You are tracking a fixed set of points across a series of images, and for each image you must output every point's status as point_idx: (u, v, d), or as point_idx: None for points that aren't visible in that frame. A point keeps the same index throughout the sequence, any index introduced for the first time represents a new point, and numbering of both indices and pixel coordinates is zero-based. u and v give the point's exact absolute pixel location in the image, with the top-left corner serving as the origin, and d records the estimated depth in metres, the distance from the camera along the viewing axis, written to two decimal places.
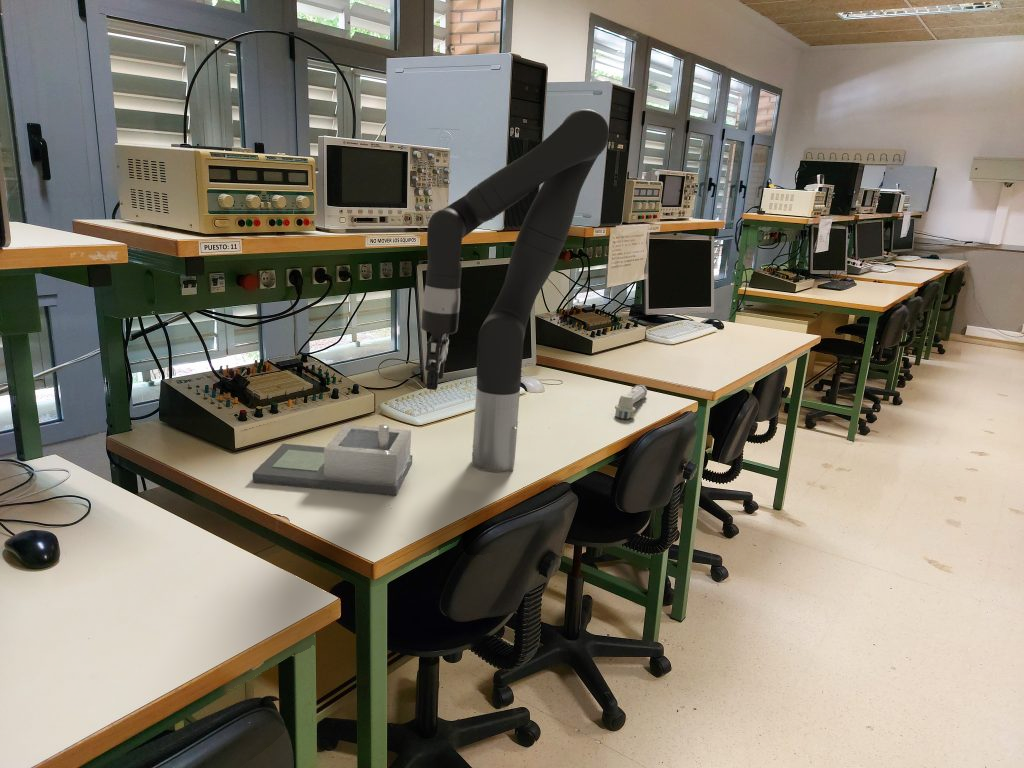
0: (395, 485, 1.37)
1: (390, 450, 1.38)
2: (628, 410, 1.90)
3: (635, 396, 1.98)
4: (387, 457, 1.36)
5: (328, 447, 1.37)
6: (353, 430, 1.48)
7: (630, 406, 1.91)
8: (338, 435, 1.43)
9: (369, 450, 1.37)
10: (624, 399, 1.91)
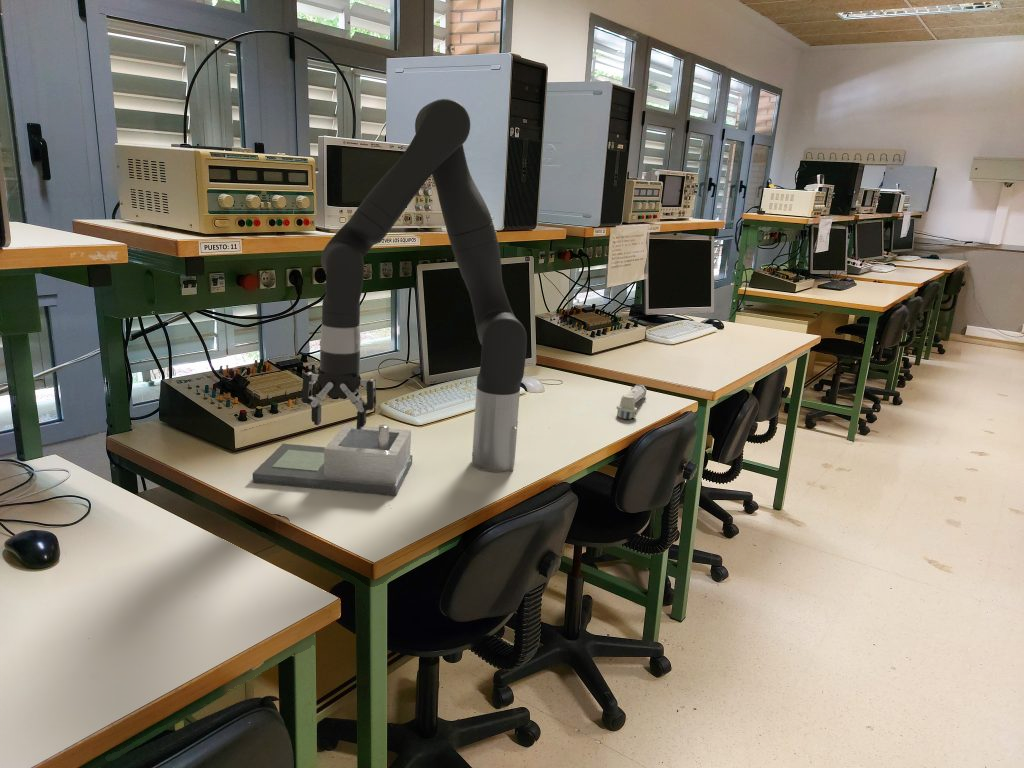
0: (395, 485, 1.37)
1: (390, 450, 1.38)
2: (630, 410, 1.90)
3: (636, 396, 1.98)
4: (387, 457, 1.36)
5: (328, 447, 1.37)
6: (353, 430, 1.48)
7: (632, 406, 1.91)
8: (338, 435, 1.43)
9: (369, 450, 1.37)
10: (626, 399, 1.91)
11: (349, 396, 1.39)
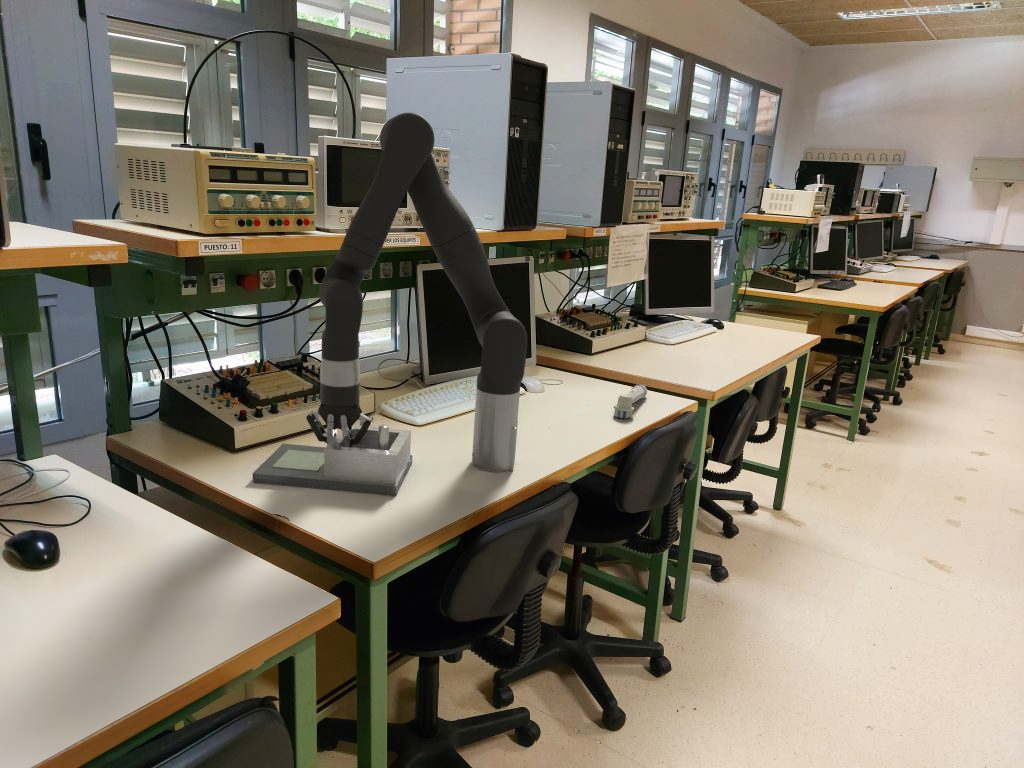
0: (395, 485, 1.37)
1: (390, 450, 1.38)
2: (627, 409, 1.90)
3: (634, 396, 1.98)
4: (387, 457, 1.36)
5: (328, 447, 1.37)
6: (353, 430, 1.48)
7: (629, 406, 1.91)
8: (338, 435, 1.43)
9: (369, 450, 1.37)
10: (623, 399, 1.91)
11: (343, 428, 1.41)
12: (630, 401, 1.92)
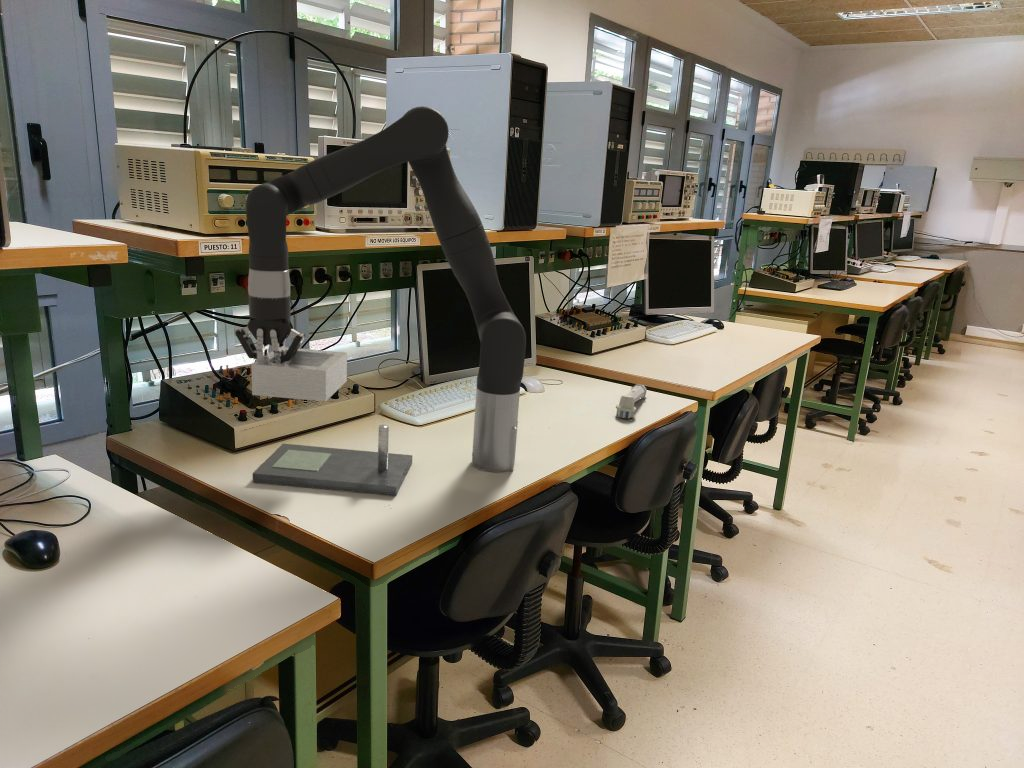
0: (395, 485, 1.37)
1: (320, 366, 1.34)
2: (630, 410, 1.90)
3: (635, 396, 1.98)
4: (315, 372, 1.32)
5: (256, 363, 1.33)
6: None
7: (631, 406, 1.91)
8: (270, 354, 1.39)
9: (298, 366, 1.33)
10: (625, 399, 1.91)
11: (273, 344, 1.37)
12: (632, 401, 1.92)
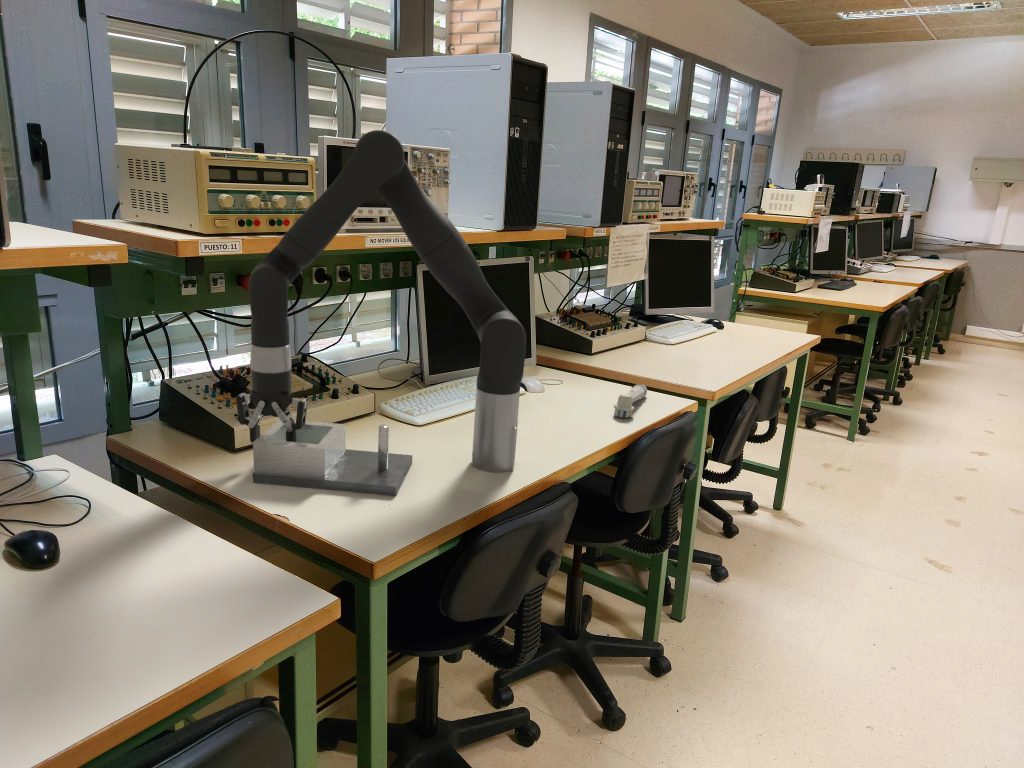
0: (395, 485, 1.37)
1: (319, 444, 1.38)
2: (627, 409, 1.91)
3: (634, 395, 1.99)
4: (315, 450, 1.36)
5: (257, 441, 1.38)
6: None
7: (629, 405, 1.92)
8: (271, 429, 1.44)
9: (298, 444, 1.38)
10: (623, 398, 1.91)
11: (279, 415, 1.41)
12: (630, 401, 1.92)
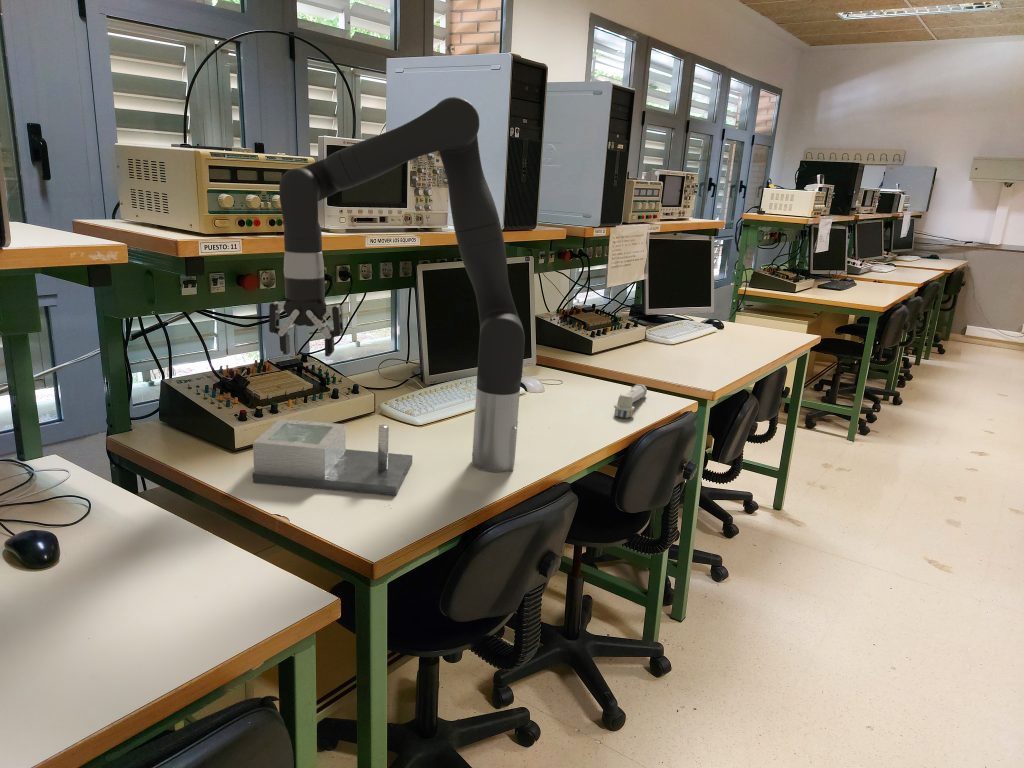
0: (395, 485, 1.37)
1: (319, 444, 1.38)
2: (627, 409, 1.91)
3: (634, 395, 1.99)
4: (315, 450, 1.36)
5: (257, 441, 1.38)
6: (287, 424, 1.48)
7: (629, 405, 1.92)
8: (271, 429, 1.44)
9: (298, 444, 1.38)
10: (623, 398, 1.91)
11: (316, 323, 1.41)
12: (630, 400, 1.92)
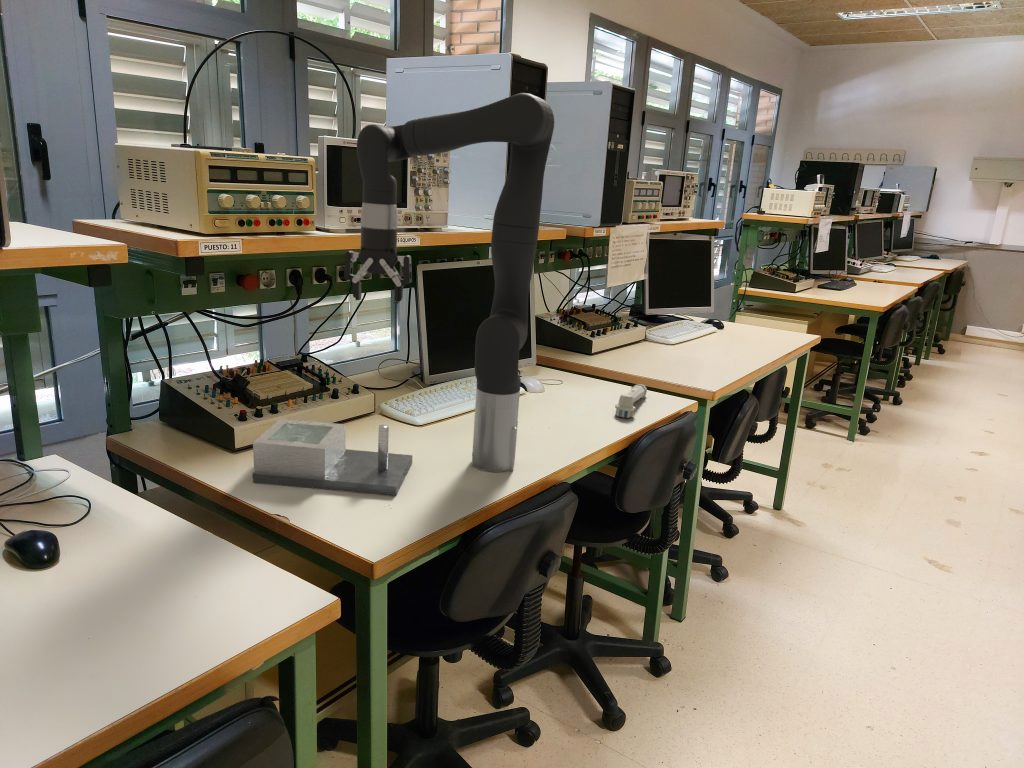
0: (395, 485, 1.37)
1: (319, 444, 1.38)
2: (628, 409, 1.91)
3: (635, 395, 1.99)
4: (315, 450, 1.36)
5: (257, 441, 1.38)
6: (287, 424, 1.48)
7: (630, 405, 1.92)
8: (271, 429, 1.44)
9: (298, 444, 1.38)
10: (624, 398, 1.91)
11: (388, 271, 1.51)
12: (631, 400, 1.92)
